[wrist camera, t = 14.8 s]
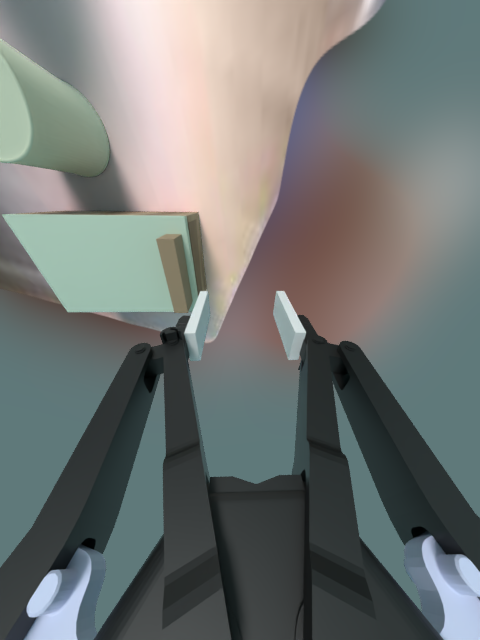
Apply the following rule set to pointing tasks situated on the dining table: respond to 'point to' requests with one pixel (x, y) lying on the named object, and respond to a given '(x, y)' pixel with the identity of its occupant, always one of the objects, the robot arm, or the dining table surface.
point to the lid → (112, 260)
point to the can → (47, 120)
